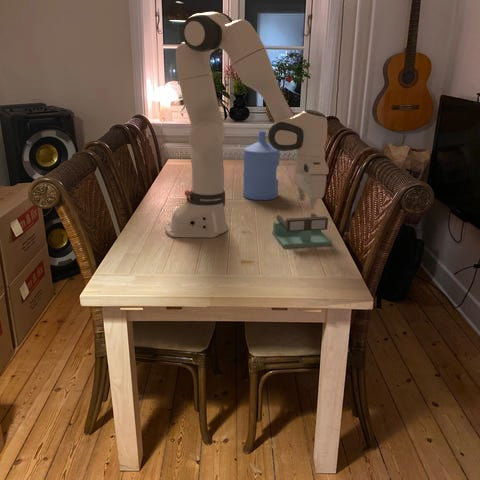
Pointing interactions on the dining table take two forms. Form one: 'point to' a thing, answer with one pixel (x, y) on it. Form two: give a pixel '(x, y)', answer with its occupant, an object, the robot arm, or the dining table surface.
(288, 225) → the glasses frame
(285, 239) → the display stand
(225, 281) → the dining table surface
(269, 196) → the water jug
